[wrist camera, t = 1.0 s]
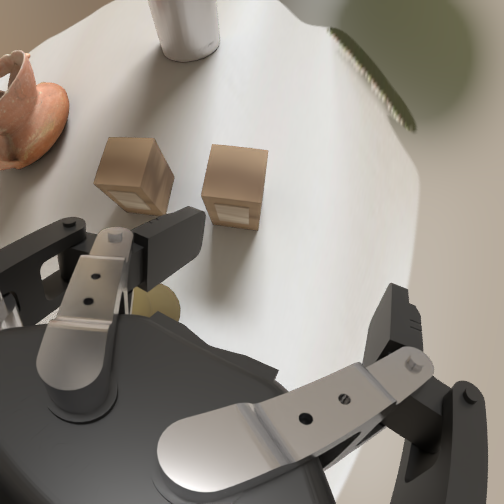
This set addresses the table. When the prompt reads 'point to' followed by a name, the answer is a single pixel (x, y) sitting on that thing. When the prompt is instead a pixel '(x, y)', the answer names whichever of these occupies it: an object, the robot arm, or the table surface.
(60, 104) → the ceramic jug
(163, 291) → the cork
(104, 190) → the numbered block
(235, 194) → the numbered block
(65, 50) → the table surface
